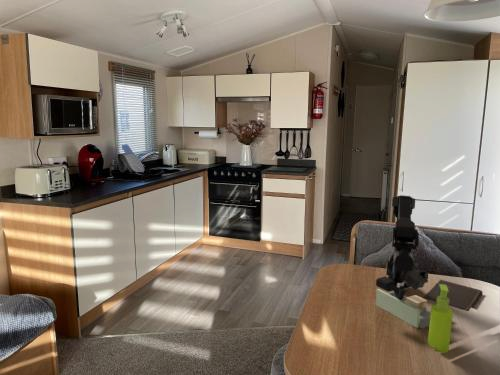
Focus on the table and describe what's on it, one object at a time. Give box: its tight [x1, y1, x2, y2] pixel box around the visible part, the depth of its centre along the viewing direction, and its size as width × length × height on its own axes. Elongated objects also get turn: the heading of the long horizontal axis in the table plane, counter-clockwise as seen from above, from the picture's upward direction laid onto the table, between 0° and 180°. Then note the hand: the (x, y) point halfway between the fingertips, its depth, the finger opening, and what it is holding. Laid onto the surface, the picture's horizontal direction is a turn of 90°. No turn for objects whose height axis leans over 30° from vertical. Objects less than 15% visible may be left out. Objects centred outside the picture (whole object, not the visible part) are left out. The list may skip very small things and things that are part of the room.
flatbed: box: [387, 291, 431, 329], centre depth 137 cm, size 13×20×4 cm, turn 27°
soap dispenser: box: [427, 284, 454, 354], centre depth 115 cm, size 6×7×20 cm
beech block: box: [405, 294, 428, 313], centre depth 138 cm, size 5×5×4 cm
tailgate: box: [375, 288, 420, 329], centre depth 133 cm, size 1×18×7 cm, turn 27°
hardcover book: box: [422, 279, 484, 312], centre depth 151 cm, size 16×23×2 cm
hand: (399, 302), depth 133 cm, fingers closed
